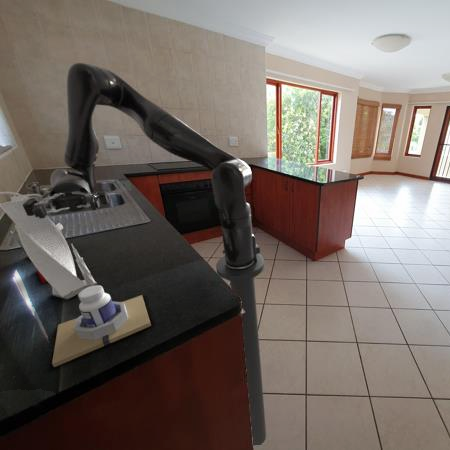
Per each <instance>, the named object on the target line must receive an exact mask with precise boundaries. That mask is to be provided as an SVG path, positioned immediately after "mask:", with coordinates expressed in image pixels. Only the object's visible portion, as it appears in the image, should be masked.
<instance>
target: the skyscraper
mask: <svg viewBox="0 0 450 450" xmlns="http://www.w3.org/2000/svg"><path fill="white" fill-rule="evenodd" d="M0 195H13V196H12V197H11V196H10V201H5V202H2V203H1V202H0V208H1V210H2V211H3V212H4V213H5V214H6V215H7V217H8V218H10V220H11V221H12V222H13V223H14V225H16V226H17V230H18V232H17V233H18V235H19V238H20V241H21V243H22V245H23V247H24V249H25V251H26V253H27V255H28V256H27V255H26V256H27V258H28V259H29V260H30V261H31V263H32V264H33V266H34V268H35V267H36V268H37V269H38V271H39V272H40V273H41V274H42V276H43V277H44V278H45V279H46V280H47V281H48V282H47V283H48V284H49V285H50V286H51V288H52V296H53V297H56V298H61V299H65V300H69V299H71V298H73V297H75V296H78V294H79V293H80V292H81V291H82V290H84V289H86V288H88V287H91V286H96V285H99V283H98V281H95V279H94V277H93V275H92V274H91V271H90V270H89V268H88V267H87V264H86V263H85V261H84V258H83V257H81V256H80V254H79V252H78V250H77V249H76V248H75V247H74V245H73V243H70V246H71V249H72V252H73V254H74V257H75V258H76V259H75V261H74V258H73V254H72V252H71V249H70V247H69V244H68V242H67V240H66V238H65V237H64V235H62V234H63V232H62V233H61V232H60V230H59V229H58V228H57V226H56V225H57V224H56V223H54V221H52V219H51V218H50V217H49V216H48V215H46V217H45V218H41V219H40V218H39V217H35V215H33V216H27V214H26V212H25V209H24V207H23V204H24V203H25V202H26V201H27V200H28V199H31V198H36V199H38V201H43V199H44V198H43V195H42V194H39V193H29V194H21V193H18V192H15V191H0ZM14 195H15V196H14ZM44 208H45V209H46V207H45V206H44ZM17 230H16V231H17ZM26 253H25V254H26ZM75 262H76V263H77V266H78V267H79V270H80V272H81V275H82V277H83V278H84V279H80V278H79V277H78V275H77V270H76V266H75ZM36 268H35V269H36Z"/></svg>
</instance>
